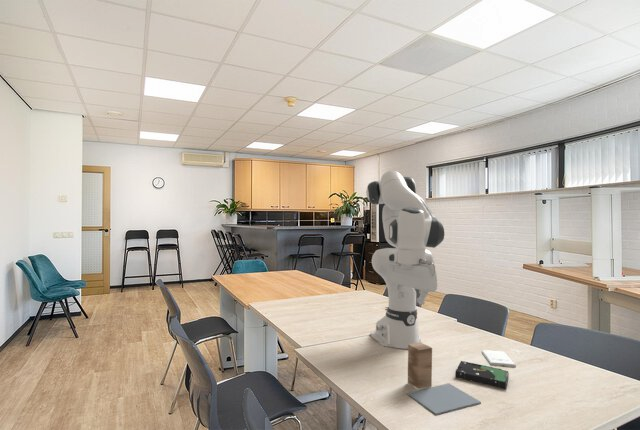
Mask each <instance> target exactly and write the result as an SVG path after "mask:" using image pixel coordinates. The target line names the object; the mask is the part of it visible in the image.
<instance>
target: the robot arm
mask: <svg viewBox="0 0 640 430" xmlns="http://www.w3.org/2000/svg"><path fill="white" fill-rule="evenodd" d="M416 193H417V183H416V182H415V180H414V179H413V177H411V176H403V175H402V174H401V173H400V172H399V171H396V170H387V171H385V172H384V173H383V174H382V175H381V177H380V180H375V181H371V182H370V183H368V185H367V187H366V192H365V194H366V198H367V200H368V201H369V203H370V204H372V205H377V206H378V205H383V204H384V205H383V207H382V211H381V213H382V215H381V218H382V227H383V233H384V238H385V241H386V242H387V243H388V244H389V245H390V246H392V247H385V248H380V249H376V250H375V251H374V253H372V257H371V266H372V268H373V270H374V271H375V272H376V273H377V274H378V275H379V276H380V277H381V278H382V279H383V280H384V282H385V284H386V287H387V293H388V294H387V295H388V306H387V307H385V308H384V311H385V314H384V316H382V317H381V318H380V319H379V320H377V321H376V324H375V330H373V331H370V333H369V335H370V336H371V337H372V338H373V339H374V340H376V342H378V344H380V345H381V346H383V347H389V348H395V349H404V350H405V349H406V350H407V349H408V344H415V343H421V341H422V340H421V337H420V334H419V322H418V321H417V319H418V310H417V304H418V305H421V306H422V305H424V304H425V303H426V302H425V301H426V300H425V299H426V297H427V296H428V294H429V293H431V292H432V293H433V292H436V291H437V289H438V279H437V278H438V277H437V272H436V271H437V270H436V266H435V257H434V255H433V254H432V251H430V250H429V249H426V248H433V249H435V248H437V246H438V247H439V245H440V244H442V242H443V241H444V239H445V228H444V224H443V223H442V222H441V221H440V220H439V219H438V218H437V217H436V216H435V215H434V213H433V212H432V210H431V209H430V207H429V206H428V205H427V203H426V202H425V200H424V199H423V198H422V197H421V196H420V195H419V194H416ZM416 290H419V291H418V293H419V294H420V295H419V296H418V297H417V291H416Z"/></svg>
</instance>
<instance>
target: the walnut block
mask: <svg viewBox="0 0 640 430" xmlns="http://www.w3.org/2000/svg"><path fill="white" fill-rule="evenodd" d="M432 370H433V348H432V347H431V346H429V345H427V344H425V343H424V342H419V343H415V344H408V351H407V384H408V385H409V386H410V387H412V388H414V389H415V390H416V391H417V390H421V389H426V388H430V387H433V386H432V385H433V384H432V383H433V382H432V375H433V374H432V372H433V371H432Z"/></svg>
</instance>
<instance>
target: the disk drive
mask: <svg viewBox="0 0 640 430" xmlns="http://www.w3.org/2000/svg"><path fill="white" fill-rule="evenodd" d="M454 375H455V376H454V377H455V378H456V379H460V380H464V381H468V382H474V383H477V384H481V385H485V386H490V387H494V388H498V389H503V390H507V387H508V381H509V377H510V376H509V375H510V374H509V371H508V370H505V369H502V368H497V367H492V366H488V365H483V364H478V363H474V362H473V363H472V362H468V361H465V360H464V361H463V360H460V362H459V364H458V365H457V368H456V369H455V374H454Z"/></svg>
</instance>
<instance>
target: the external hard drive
mask: <svg viewBox="0 0 640 430" xmlns="http://www.w3.org/2000/svg"><path fill="white" fill-rule="evenodd" d="M481 353H482V355H483V356H484V357H485V359H486V361H487V362H488V363H489V364H490V366H495V367H498V366H499V367H508V368H509V367H510V368H516V367H517V364H515V362H513V360H512V359H511V358H510V356H508V354H507V353H506V352H505V351H503V350H490V349H489V350H488V349H482V350H481Z"/></svg>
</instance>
